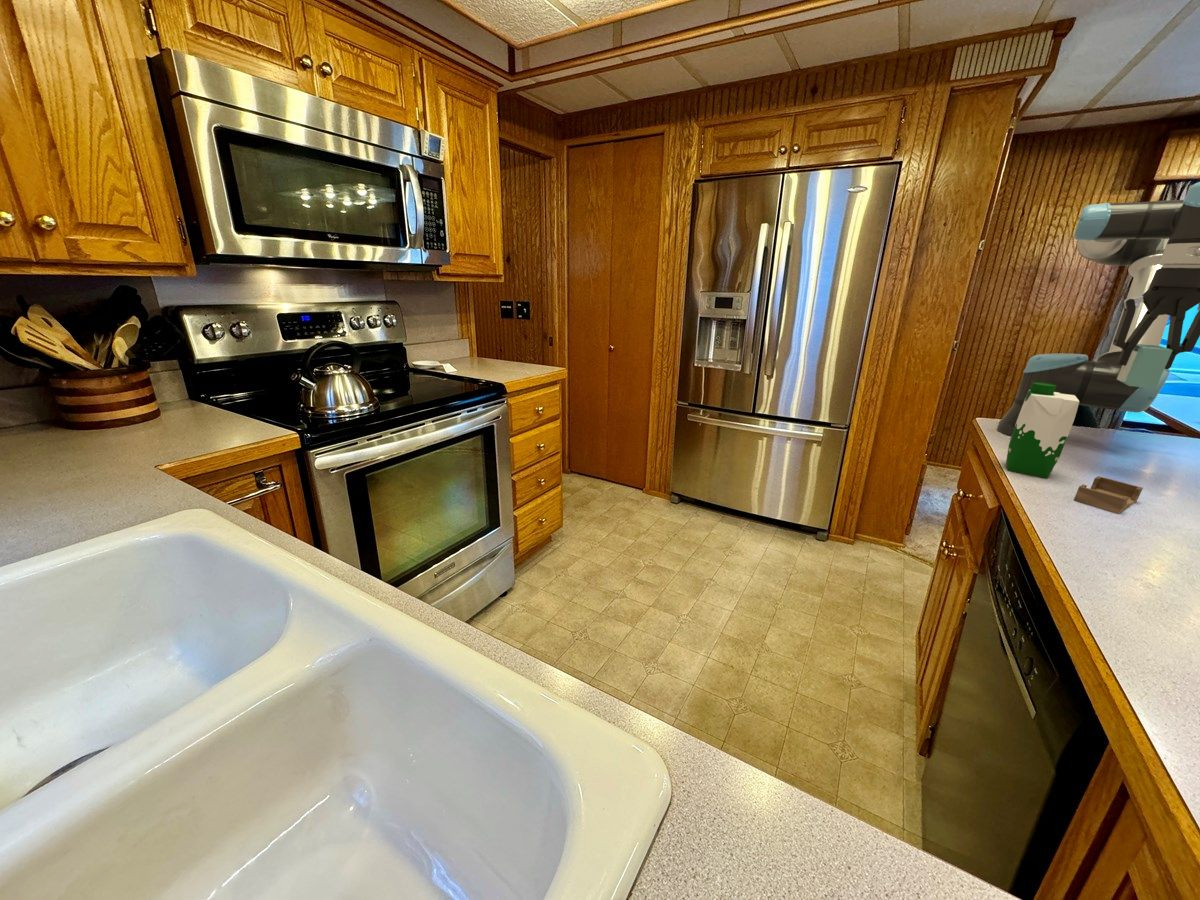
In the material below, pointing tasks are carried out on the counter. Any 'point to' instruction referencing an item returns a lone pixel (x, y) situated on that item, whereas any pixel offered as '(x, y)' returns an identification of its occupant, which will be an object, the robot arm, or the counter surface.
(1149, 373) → the key block
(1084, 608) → the counter surface
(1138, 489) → the holder
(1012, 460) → the milk carton
